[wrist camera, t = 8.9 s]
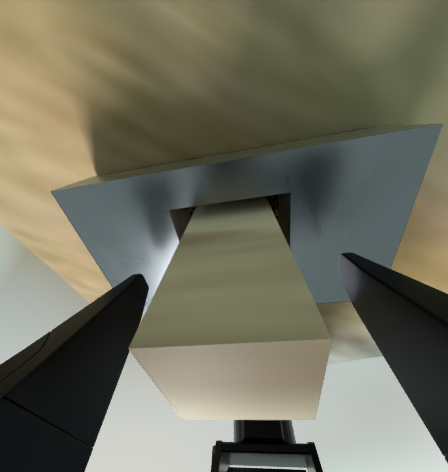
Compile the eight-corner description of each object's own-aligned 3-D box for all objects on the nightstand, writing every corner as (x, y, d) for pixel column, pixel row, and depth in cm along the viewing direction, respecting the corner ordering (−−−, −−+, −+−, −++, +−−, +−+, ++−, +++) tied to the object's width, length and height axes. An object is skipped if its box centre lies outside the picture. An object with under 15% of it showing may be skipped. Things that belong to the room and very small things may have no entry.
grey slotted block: (351, 266, 14) (379, 299, 11) (148, 285, 15) (130, 316, 13) (383, 125, 9) (442, 123, 7) (93, 176, 11) (50, 191, 8)
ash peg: (266, 246, 13) (315, 420, 5) (211, 252, 14) (181, 419, 6) (263, 191, 11) (332, 339, 3) (199, 201, 12) (128, 348, 4)
